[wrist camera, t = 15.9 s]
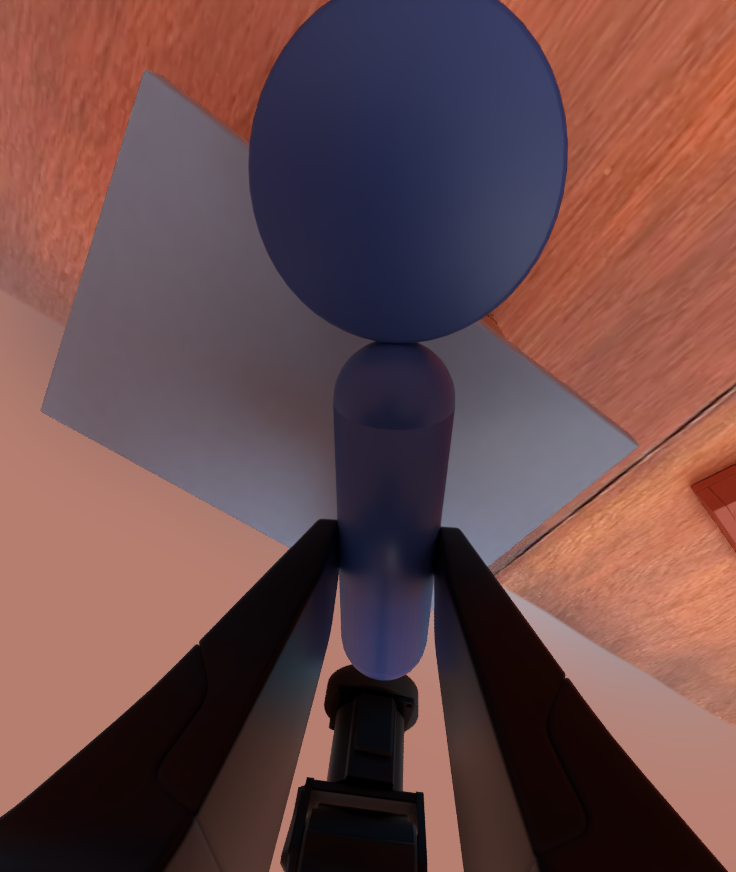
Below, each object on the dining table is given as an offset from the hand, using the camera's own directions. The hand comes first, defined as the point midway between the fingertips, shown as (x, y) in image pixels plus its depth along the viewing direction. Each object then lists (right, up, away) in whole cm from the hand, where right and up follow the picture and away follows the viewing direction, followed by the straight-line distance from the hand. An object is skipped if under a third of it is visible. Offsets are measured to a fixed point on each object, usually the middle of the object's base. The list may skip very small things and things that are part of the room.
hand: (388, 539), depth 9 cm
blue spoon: (0, +2, 0) cm, 2 cm away
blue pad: (-1, +2, +2) cm, 4 cm away
